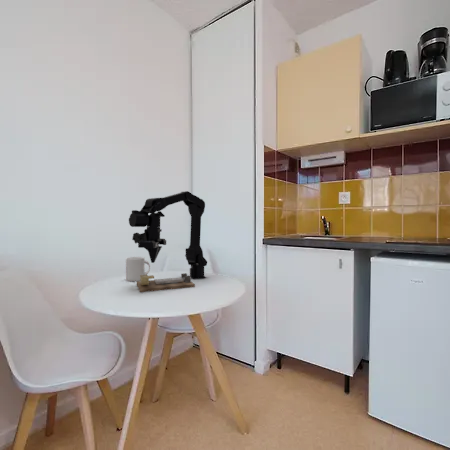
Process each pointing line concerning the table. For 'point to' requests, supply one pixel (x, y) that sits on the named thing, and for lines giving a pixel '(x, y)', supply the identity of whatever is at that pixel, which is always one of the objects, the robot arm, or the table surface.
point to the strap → (169, 280)
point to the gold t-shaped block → (145, 279)
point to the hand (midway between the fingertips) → (152, 262)
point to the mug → (135, 268)
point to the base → (166, 285)
